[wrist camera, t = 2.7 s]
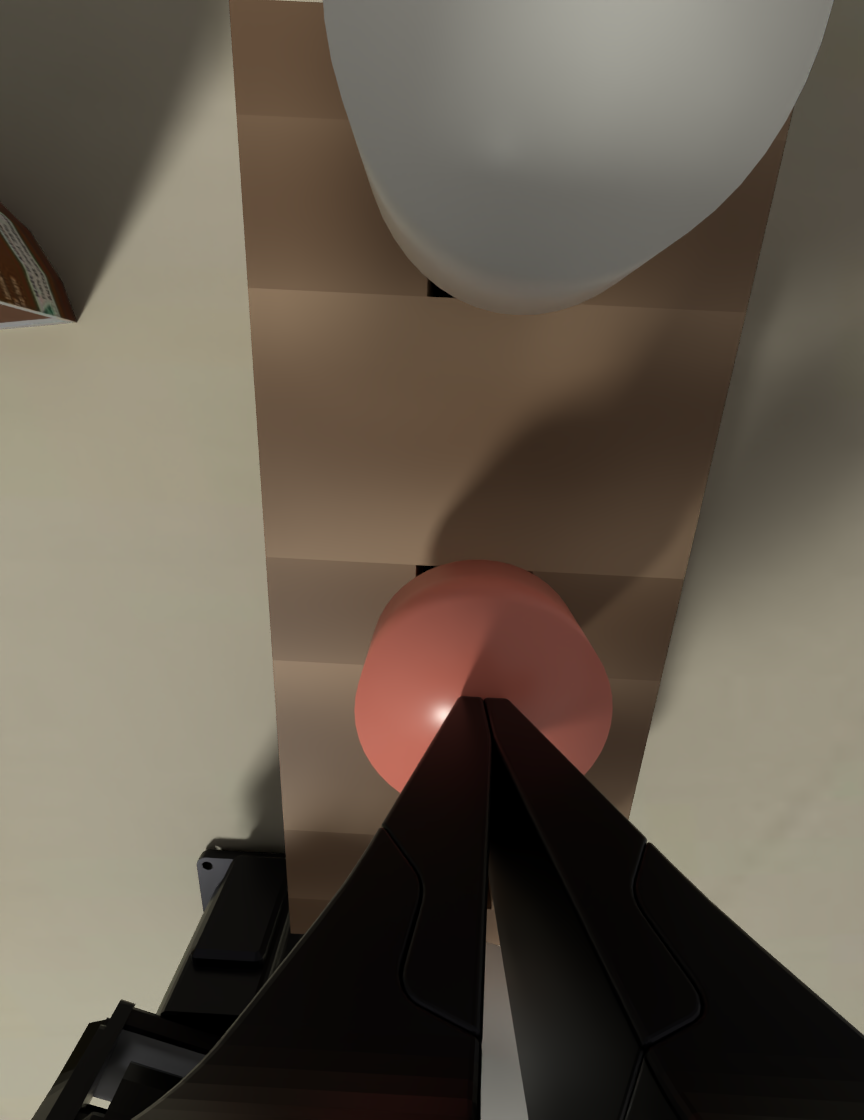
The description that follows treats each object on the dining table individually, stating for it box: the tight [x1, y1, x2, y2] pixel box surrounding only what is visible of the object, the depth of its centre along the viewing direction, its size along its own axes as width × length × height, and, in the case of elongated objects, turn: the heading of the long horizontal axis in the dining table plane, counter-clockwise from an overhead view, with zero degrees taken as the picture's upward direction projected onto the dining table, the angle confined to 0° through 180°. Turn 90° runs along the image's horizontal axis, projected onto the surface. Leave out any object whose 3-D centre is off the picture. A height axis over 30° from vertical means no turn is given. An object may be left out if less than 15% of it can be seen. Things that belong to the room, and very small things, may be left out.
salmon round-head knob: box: [354, 560, 613, 793], centre depth 12 cm, size 4×4×8 cm
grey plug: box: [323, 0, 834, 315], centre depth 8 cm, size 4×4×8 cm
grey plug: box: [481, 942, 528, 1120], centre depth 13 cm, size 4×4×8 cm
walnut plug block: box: [229, 0, 794, 945], centre depth 14 cm, size 23×10×6 cm, turn 177°
